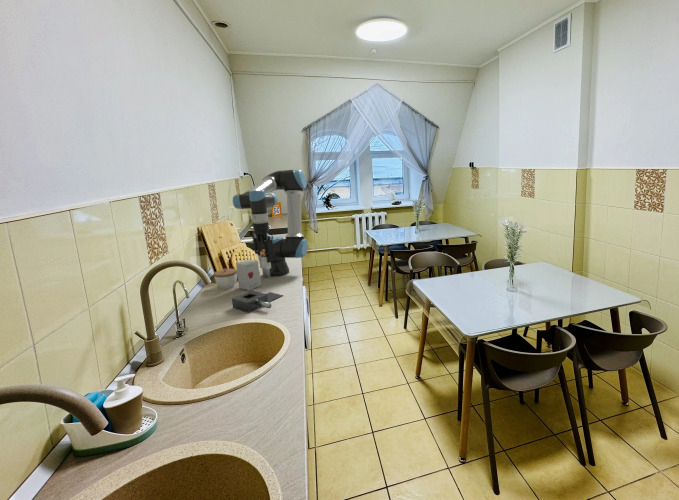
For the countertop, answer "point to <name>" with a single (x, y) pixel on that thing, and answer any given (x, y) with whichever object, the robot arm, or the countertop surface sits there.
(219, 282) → the lidded bowl
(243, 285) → the supplement box
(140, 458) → the countertop surface
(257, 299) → the block
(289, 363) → the countertop surface
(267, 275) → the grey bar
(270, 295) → the mat
